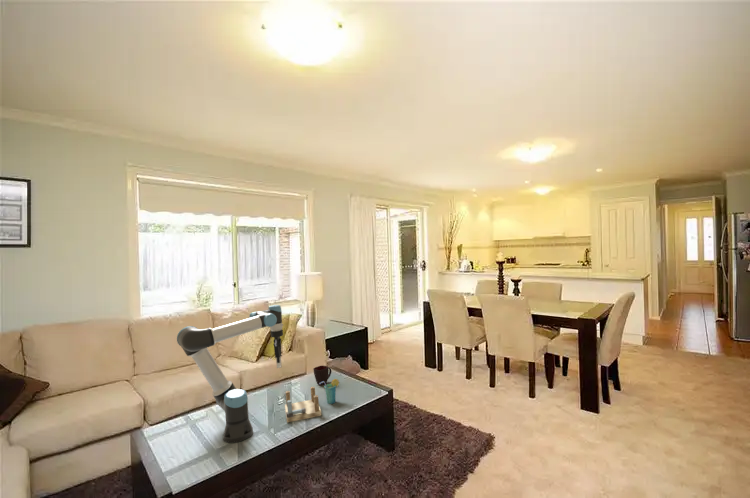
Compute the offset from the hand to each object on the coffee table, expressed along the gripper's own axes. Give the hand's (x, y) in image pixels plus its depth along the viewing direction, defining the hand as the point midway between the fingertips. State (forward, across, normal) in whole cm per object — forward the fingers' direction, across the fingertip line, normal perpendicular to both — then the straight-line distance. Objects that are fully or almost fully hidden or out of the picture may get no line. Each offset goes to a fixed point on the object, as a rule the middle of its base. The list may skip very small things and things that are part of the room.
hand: (279, 367), depth 226 cm
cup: (+27, +3, -30) cm, 40 cm away
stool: (+27, -7, -14) cm, 31 cm away
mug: (+27, +39, -24) cm, 53 cm away
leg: (+23, -15, -11) cm, 30 cm away
